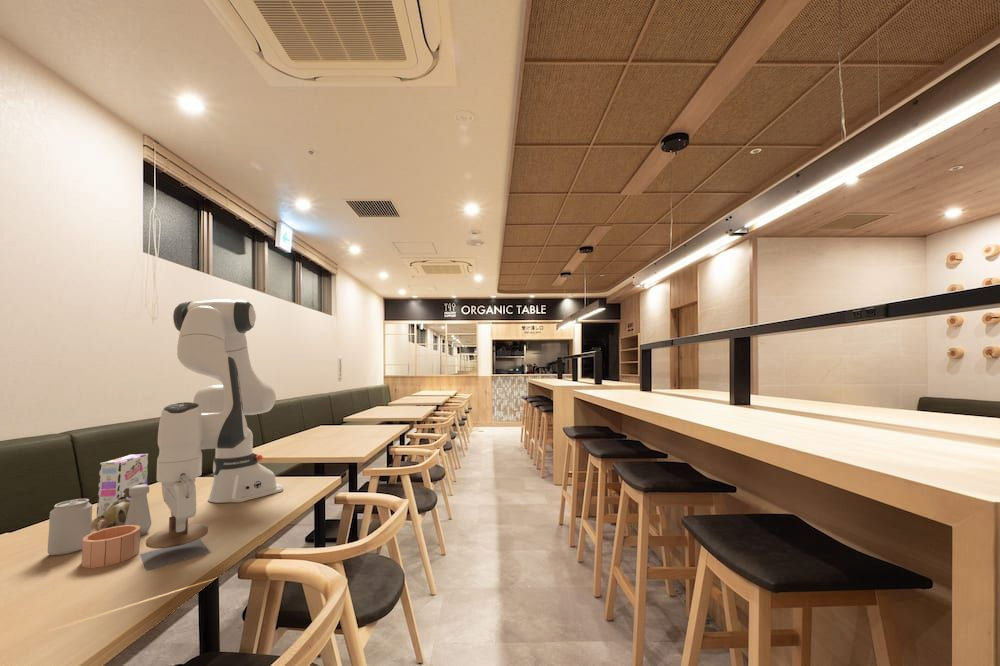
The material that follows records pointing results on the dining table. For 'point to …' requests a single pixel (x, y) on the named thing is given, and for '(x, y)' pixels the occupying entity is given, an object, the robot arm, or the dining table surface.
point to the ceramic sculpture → (115, 513)
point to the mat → (173, 554)
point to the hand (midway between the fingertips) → (178, 528)
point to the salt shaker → (139, 508)
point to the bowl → (110, 546)
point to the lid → (176, 535)
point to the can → (69, 526)
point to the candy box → (120, 478)
